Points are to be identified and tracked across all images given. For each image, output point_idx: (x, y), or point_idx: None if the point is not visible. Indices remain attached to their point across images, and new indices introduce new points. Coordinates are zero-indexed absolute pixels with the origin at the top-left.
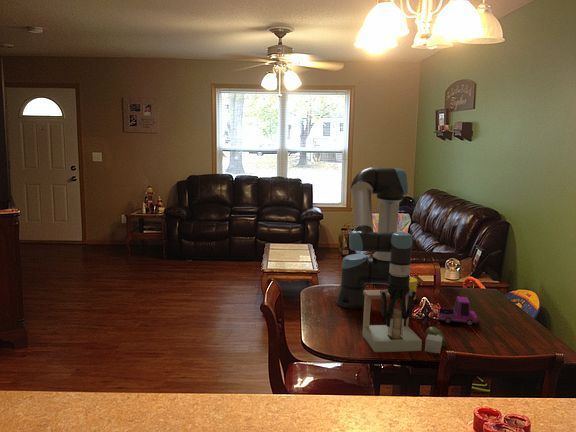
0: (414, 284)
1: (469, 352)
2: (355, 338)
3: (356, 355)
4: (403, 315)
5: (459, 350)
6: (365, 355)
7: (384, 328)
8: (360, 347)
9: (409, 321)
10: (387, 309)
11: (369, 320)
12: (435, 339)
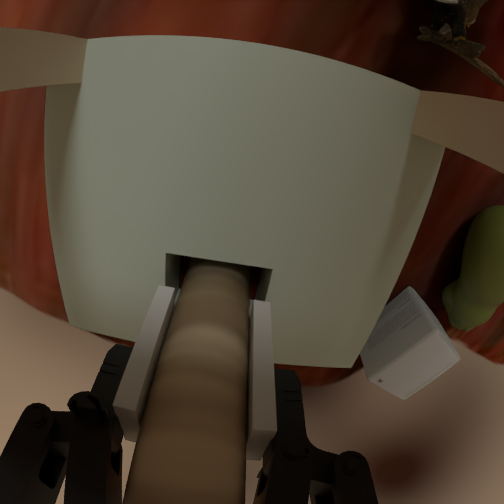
0: None
1: (477, 352)
2: (39, 102)
3: (24, 292)
4: (258, 484)
5: (470, 339)
6: (54, 302)
7: (206, 124)
8: (40, 225)
9: (499, 81)
10: (66, 480)
11: (41, 84)
12: (406, 385)
